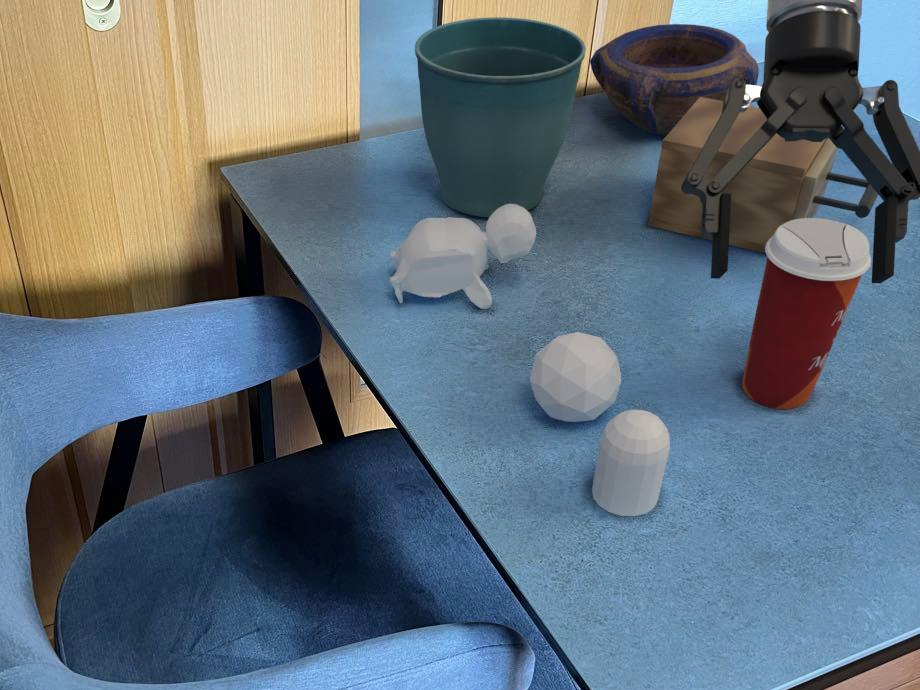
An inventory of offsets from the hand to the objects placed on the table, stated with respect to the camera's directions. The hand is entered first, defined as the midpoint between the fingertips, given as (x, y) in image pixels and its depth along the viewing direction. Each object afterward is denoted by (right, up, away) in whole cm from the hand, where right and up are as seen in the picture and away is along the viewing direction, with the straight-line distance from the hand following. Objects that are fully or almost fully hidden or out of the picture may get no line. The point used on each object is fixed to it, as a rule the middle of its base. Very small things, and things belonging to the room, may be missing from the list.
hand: (800, 277), depth 88 cm
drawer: (+8, +13, +26) cm, 31 cm away
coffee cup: (0, -9, +6) cm, 11 cm away
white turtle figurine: (-28, +4, +19) cm, 34 cm away
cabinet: (+4, +14, +29) cm, 32 cm away
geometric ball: (-19, -11, +4) cm, 22 cm away
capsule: (-16, -19, -4) cm, 25 cm away
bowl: (+1, +32, +47) cm, 57 cm away
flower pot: (-23, +18, +33) cm, 44 cm away
